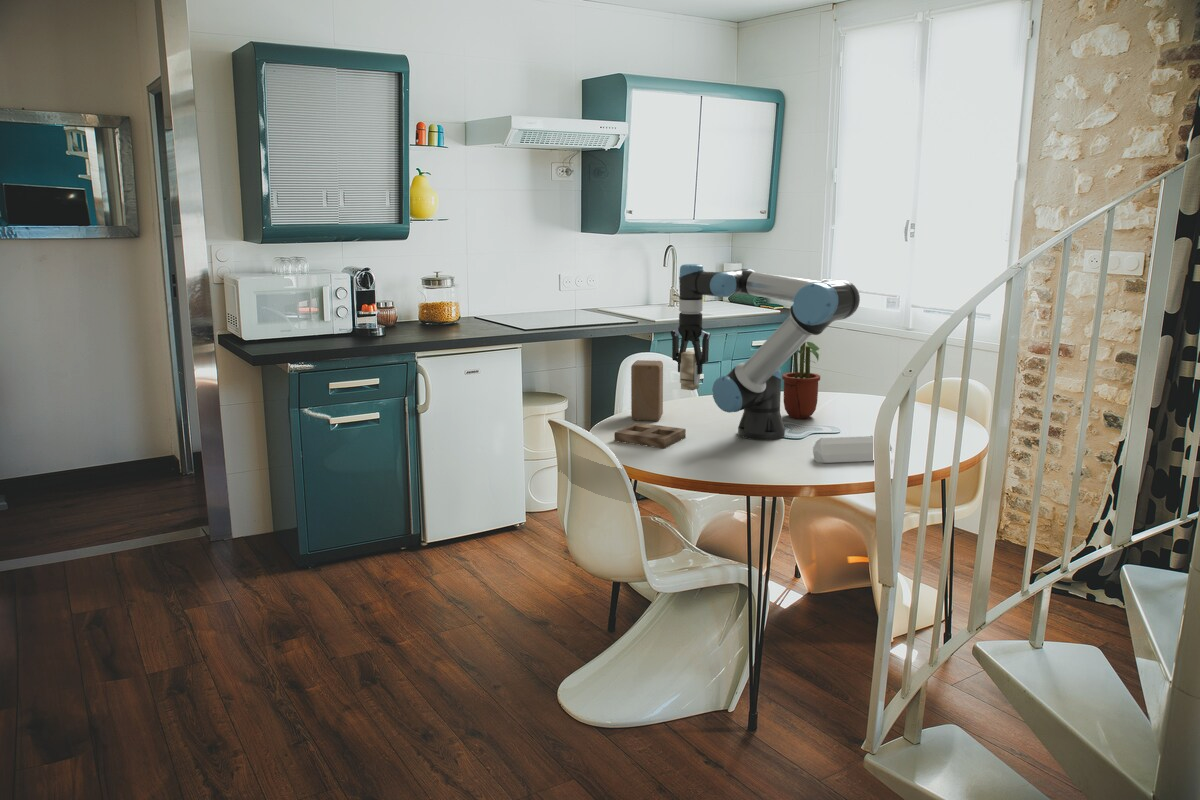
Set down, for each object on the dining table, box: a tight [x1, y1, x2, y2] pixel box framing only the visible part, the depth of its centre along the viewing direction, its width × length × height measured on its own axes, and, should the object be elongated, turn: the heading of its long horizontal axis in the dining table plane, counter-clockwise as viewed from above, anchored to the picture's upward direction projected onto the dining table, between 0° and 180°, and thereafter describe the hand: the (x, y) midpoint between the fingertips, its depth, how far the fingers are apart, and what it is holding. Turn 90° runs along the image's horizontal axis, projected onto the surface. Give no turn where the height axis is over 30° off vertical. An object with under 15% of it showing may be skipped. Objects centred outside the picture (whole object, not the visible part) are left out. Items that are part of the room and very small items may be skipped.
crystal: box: [812, 435, 893, 464], centre depth 276 cm, size 7×7×24 cm
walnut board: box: [613, 422, 687, 449], centre depth 301 cm, size 18×15×3 cm
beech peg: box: [680, 350, 700, 391], centre depth 306 cm, size 4×4×12 cm
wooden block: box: [630, 359, 664, 422], centre depth 328 cm, size 10×10×20 cm
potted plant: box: [781, 340, 821, 420], centre depth 328 cm, size 17×16×35 cm
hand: (689, 382), depth 306 cm, fingers closed on beech peg, 4 cm apart
